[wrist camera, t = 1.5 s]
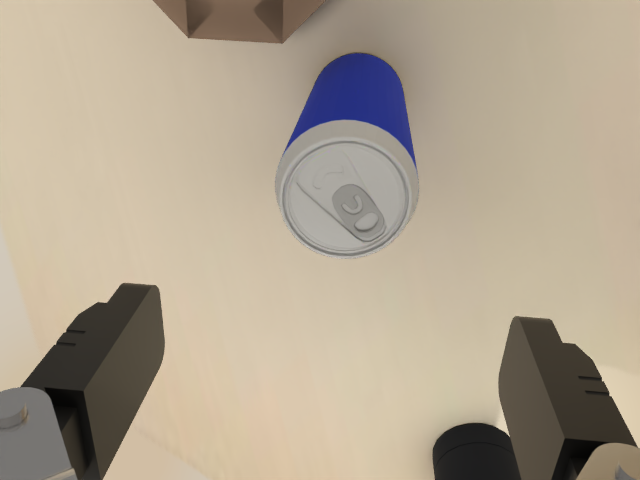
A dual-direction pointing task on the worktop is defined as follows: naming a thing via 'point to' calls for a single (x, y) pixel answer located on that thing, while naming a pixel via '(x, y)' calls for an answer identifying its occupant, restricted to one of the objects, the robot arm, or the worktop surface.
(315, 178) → the beverage can
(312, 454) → the worktop surface
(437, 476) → the wine bottle
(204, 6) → the collar
